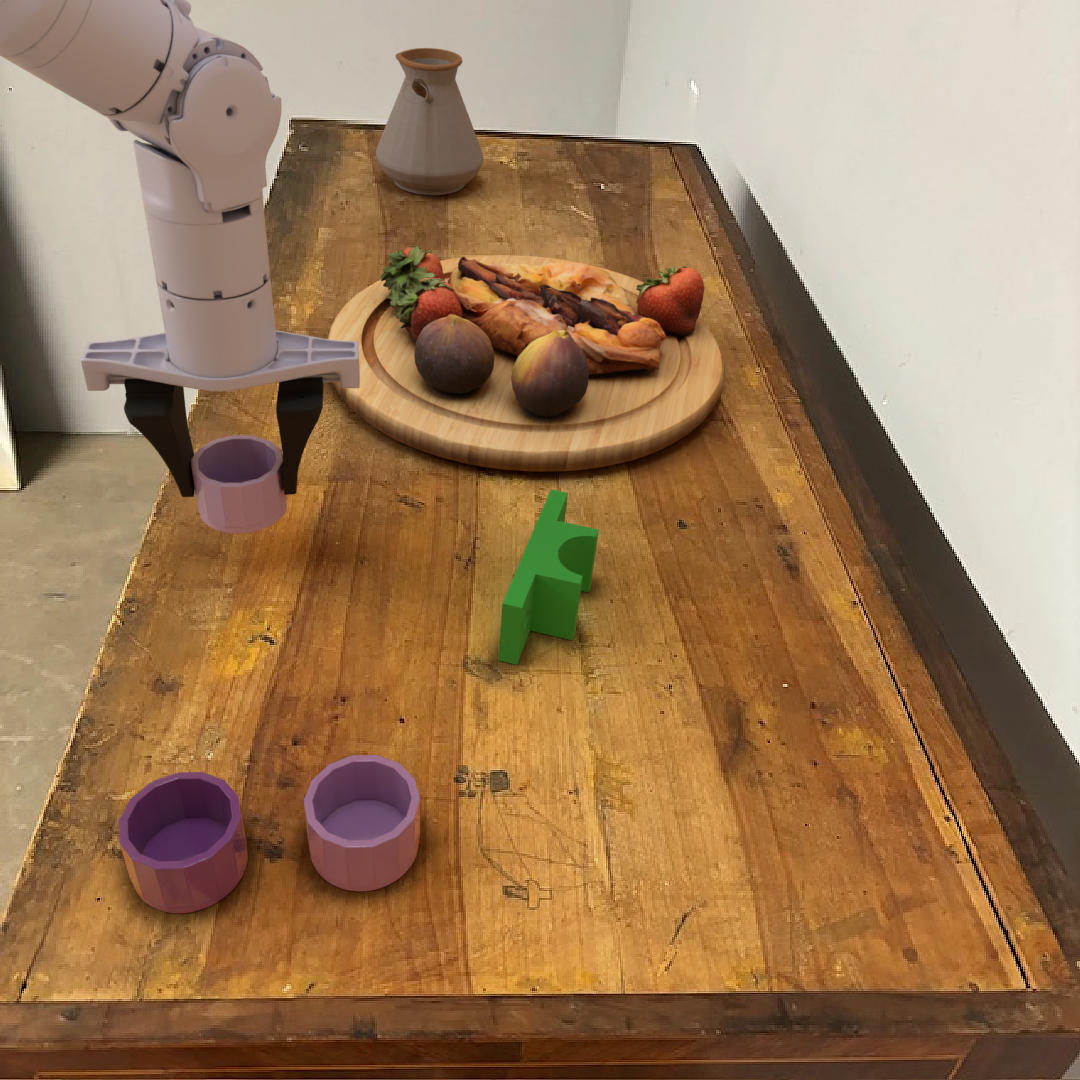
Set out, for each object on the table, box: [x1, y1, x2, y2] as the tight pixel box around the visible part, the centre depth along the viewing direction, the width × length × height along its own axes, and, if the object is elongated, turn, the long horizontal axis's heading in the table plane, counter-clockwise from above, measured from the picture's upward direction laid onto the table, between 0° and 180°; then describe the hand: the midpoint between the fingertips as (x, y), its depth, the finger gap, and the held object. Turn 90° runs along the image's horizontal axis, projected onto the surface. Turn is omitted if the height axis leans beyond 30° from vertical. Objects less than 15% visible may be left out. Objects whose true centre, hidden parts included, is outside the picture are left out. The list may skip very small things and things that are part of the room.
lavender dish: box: [191, 434, 288, 535], centre depth 64 cm, size 5×5×4 cm
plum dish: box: [118, 771, 249, 914], centre depth 49 cm, size 5×5×4 cm
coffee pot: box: [375, 47, 485, 196], centre depth 108 cm, size 21×12×15 cm, turn 179°
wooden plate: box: [326, 245, 726, 472], centre depth 86 cm, size 32×32×8 cm
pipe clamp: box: [498, 488, 600, 666], centre depth 65 cm, size 11×4×5 cm, turn 166°
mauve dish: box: [303, 754, 421, 892], centre depth 51 cm, size 5×5×4 cm
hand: (241, 485), depth 65 cm, fingers closed on lavender dish, 5 cm apart
